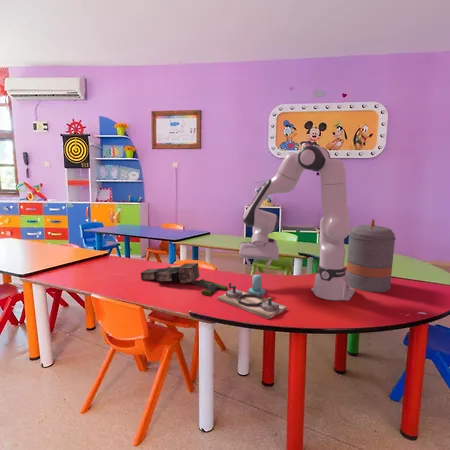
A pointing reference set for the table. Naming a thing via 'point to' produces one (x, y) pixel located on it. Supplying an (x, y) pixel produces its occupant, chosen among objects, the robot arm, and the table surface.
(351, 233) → the storage container
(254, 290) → the teal gear
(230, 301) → the board
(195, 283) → the gun
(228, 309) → the table surface
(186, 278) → the toy
